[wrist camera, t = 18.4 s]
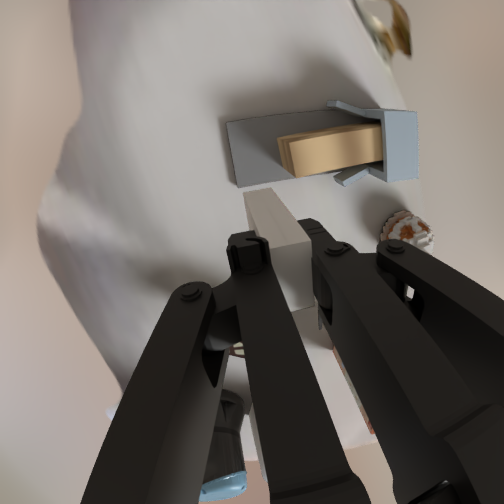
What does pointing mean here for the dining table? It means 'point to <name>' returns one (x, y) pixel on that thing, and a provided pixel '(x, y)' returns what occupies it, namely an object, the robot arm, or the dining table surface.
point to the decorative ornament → (409, 231)
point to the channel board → (272, 127)
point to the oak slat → (331, 148)
